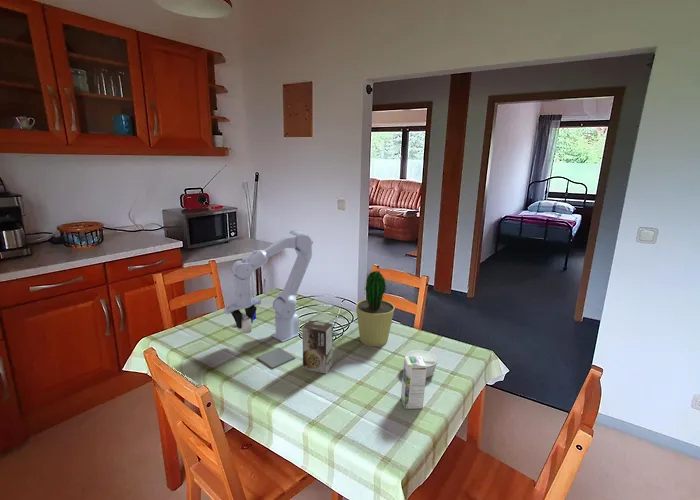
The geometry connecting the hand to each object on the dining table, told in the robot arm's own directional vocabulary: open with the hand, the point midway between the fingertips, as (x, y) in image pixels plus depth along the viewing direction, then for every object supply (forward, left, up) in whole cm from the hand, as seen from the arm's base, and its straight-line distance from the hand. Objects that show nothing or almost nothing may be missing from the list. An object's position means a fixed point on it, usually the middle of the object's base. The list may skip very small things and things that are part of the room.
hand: (244, 326), depth 143 cm
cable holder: (-13, -18, -9) cm, 24 cm away
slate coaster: (-3, +16, -8) cm, 18 cm away
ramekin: (-34, +58, -9) cm, 68 cm away
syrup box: (-17, +66, -9) cm, 69 cm away
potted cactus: (-40, +32, -9) cm, 52 cm away
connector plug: (0, 0, -2) cm, 2 cm away
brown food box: (-10, +31, -9) cm, 34 cm away
